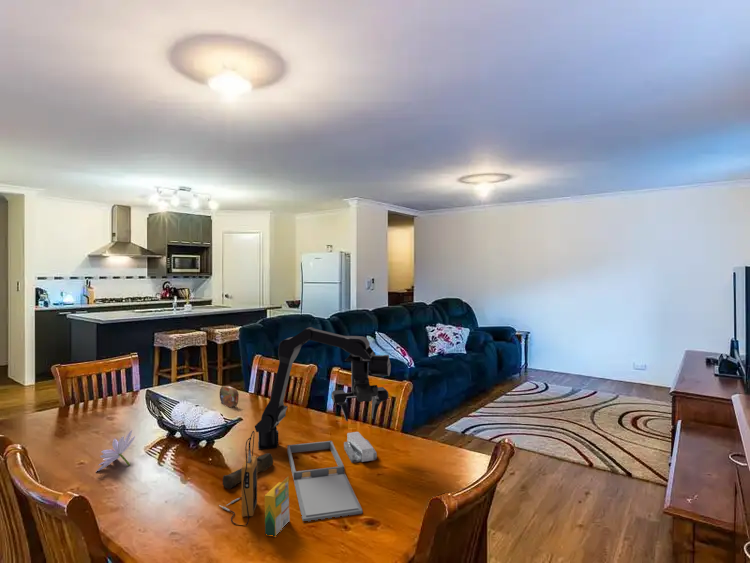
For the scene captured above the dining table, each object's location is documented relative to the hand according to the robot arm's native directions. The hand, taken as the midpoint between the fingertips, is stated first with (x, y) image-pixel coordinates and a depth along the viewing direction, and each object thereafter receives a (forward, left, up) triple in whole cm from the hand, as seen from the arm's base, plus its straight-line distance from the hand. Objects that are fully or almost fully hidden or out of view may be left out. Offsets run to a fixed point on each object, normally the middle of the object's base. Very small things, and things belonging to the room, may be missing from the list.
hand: (360, 419), depth 156 cm
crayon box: (-30, -38, -12) cm, 50 cm away
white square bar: (0, 0, -11) cm, 11 cm away
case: (-16, -14, -12) cm, 25 cm away
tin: (-45, +71, -12) cm, 85 cm away
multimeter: (-40, -27, -12) cm, 50 cm away
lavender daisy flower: (-78, +13, -12) cm, 80 cm away
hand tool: (-37, -6, -12) cm, 39 cm away
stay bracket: (0, 0, -12) cm, 12 cm away
